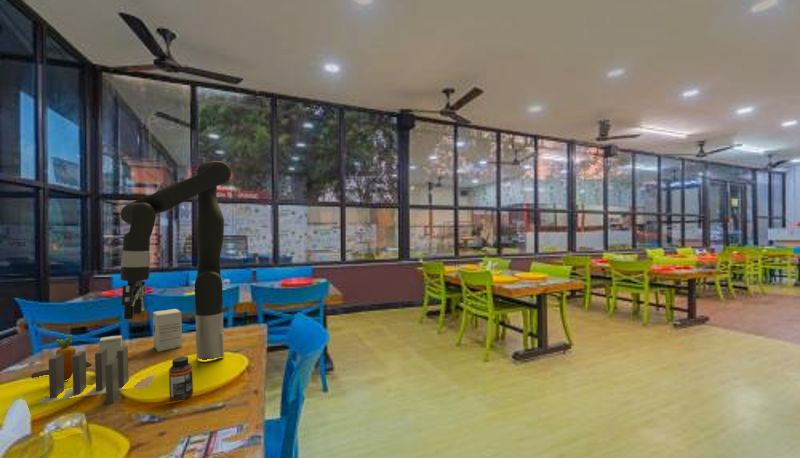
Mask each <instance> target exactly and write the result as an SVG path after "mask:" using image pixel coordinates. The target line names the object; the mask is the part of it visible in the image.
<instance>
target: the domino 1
mask: <svg viewBox="0 0 800 458" xmlns="http://www.w3.org/2000/svg"><path fill="white" fill-rule="evenodd" d="M86 353H87V352H86V350H81V351H78V352H77V353H76V354H75V355H74V356H72V366H73V373H72V387H73V395H76V394H80V393H81V392H82V391H83V390H84V389H85V388H86V387H87V386H86V385H87V367H86V361H87V359H86V358H87V357H86V356H87V355H86Z"/></svg>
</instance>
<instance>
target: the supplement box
mask: <svg viewBox="0 0 800 458" xmlns="http://www.w3.org/2000/svg"><path fill="white" fill-rule="evenodd" d="M182 321H183V320H182V312H181V311H180V310H179V309H177V308H172V309H166V310H158V311H153V312H152V322H153V347H154V349H155V350H156V351H157V352H159V353H160V352H164V351H168V350H172V349H177V347H178V348H181V347H183V332H182V331H183V330H182V327H183V325H182V323H183V322H182Z"/></svg>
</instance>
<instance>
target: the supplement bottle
mask: <svg viewBox="0 0 800 458" xmlns="http://www.w3.org/2000/svg"><path fill="white" fill-rule="evenodd" d="M168 381H169V382H168V385H169V399H170V400H172V401H183V400H185V399H189V398H190V397H191V396H193V392H194V385H193V383H194V381H193V365H192V363H190V362H189V357H188V356H186V355H185V356H177V357H175V358H173V359H172V365H171V366H170V368H169V369H168Z"/></svg>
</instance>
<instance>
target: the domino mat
mask: <svg viewBox="0 0 800 458" xmlns="http://www.w3.org/2000/svg"><path fill="white" fill-rule="evenodd" d="M150 375H151V376H150ZM150 375H148V376H149V377H146V378H145V379H141V381H140V382H138V383H137V384H136V385H134V389H139V388H140V389H141V388H146V387H150V385H152V383H153V381H154V379H155V378H156V376H157V374H150ZM129 379H131V378H129ZM83 391H84V390H83ZM83 391H82V392H83ZM119 391H120V392H121V391H123V390H122V388H119ZM82 392H81V393H82ZM81 393H80V394H81ZM101 394H106V387H105V388H104V389H103V390H102V391H96V388H94V389H93V390H92V391H91V392H89V393H88V394H86V395H85V396H84V397H88V396H95V395H101ZM76 395H79V394H76ZM76 395H73V388H72V389H69V390H66V392H65V395H64V396H63V398H60V399H63V400H68V399H67V398H69V397H72V396H76ZM46 396H47V395H46ZM46 396H44V397H43V398H42V399H41V400H40V401H38V404H42V403H50V402H55V401H60V400H59V399H58V398H57V397H56V398H50V396H47V398H46Z"/></svg>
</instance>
